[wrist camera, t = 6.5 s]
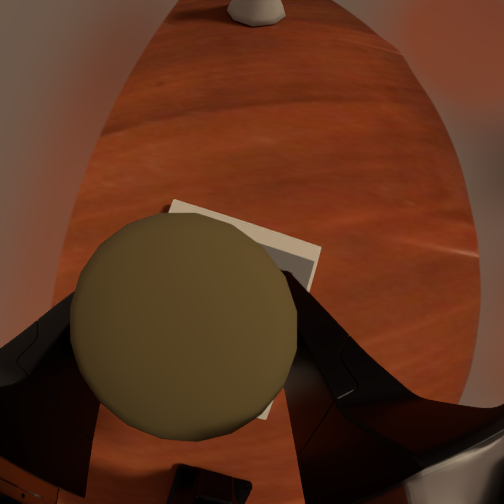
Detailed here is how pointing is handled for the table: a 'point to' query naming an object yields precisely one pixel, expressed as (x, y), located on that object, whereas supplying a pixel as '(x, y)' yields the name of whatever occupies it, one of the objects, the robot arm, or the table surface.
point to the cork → (183, 326)
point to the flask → (256, 11)
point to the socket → (269, 249)
